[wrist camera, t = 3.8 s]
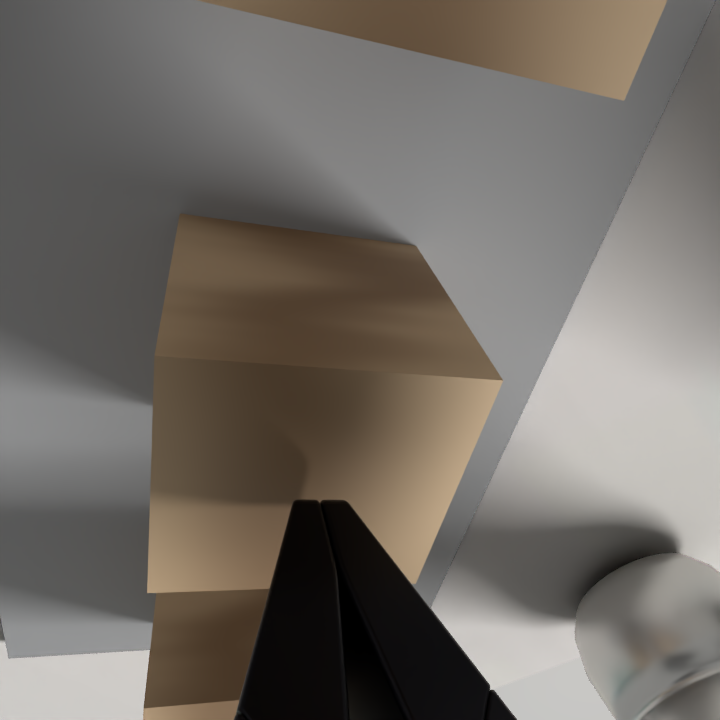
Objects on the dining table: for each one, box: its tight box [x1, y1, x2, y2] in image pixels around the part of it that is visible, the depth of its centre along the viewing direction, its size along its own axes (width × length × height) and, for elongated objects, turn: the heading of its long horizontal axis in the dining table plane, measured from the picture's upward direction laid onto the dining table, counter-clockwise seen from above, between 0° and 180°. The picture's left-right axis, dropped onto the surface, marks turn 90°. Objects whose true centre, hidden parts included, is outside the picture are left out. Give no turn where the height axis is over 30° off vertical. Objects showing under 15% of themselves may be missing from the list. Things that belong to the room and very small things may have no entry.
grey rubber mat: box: [0, 0, 716, 658], centre depth 14 cm, size 14×26×1 cm, turn 167°
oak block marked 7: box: [143, 589, 269, 720], centre depth 16 cm, size 5×5×5 cm
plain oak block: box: [147, 214, 503, 593], centre depth 11 cm, size 5×5×5 cm
